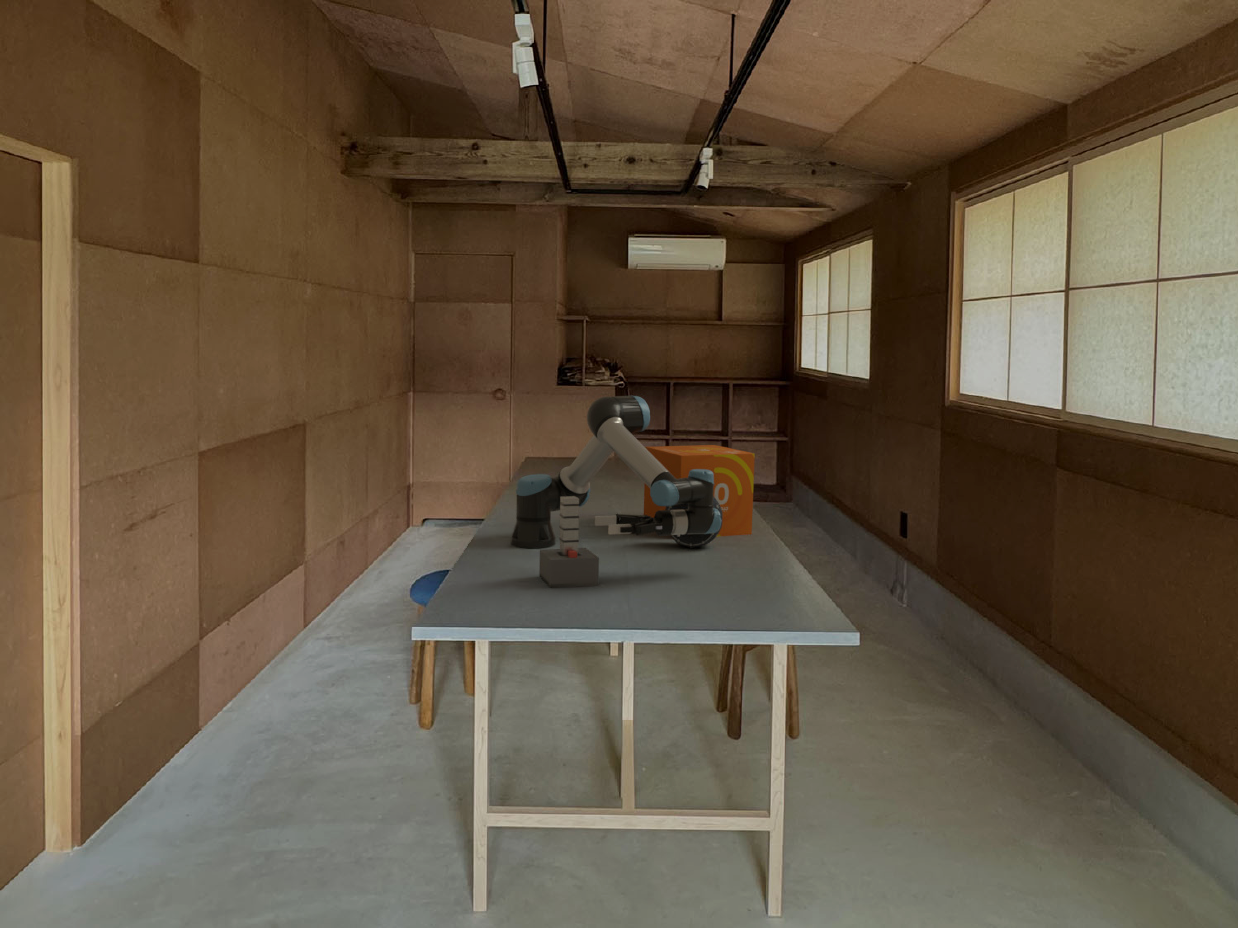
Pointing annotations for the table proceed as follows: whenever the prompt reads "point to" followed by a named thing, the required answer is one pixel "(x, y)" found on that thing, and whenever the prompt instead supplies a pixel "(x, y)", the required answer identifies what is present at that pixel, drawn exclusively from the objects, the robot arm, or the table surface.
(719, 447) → the box
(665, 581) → the table surface
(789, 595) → the table surface
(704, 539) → the studded black puck
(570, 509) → the column
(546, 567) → the stand
